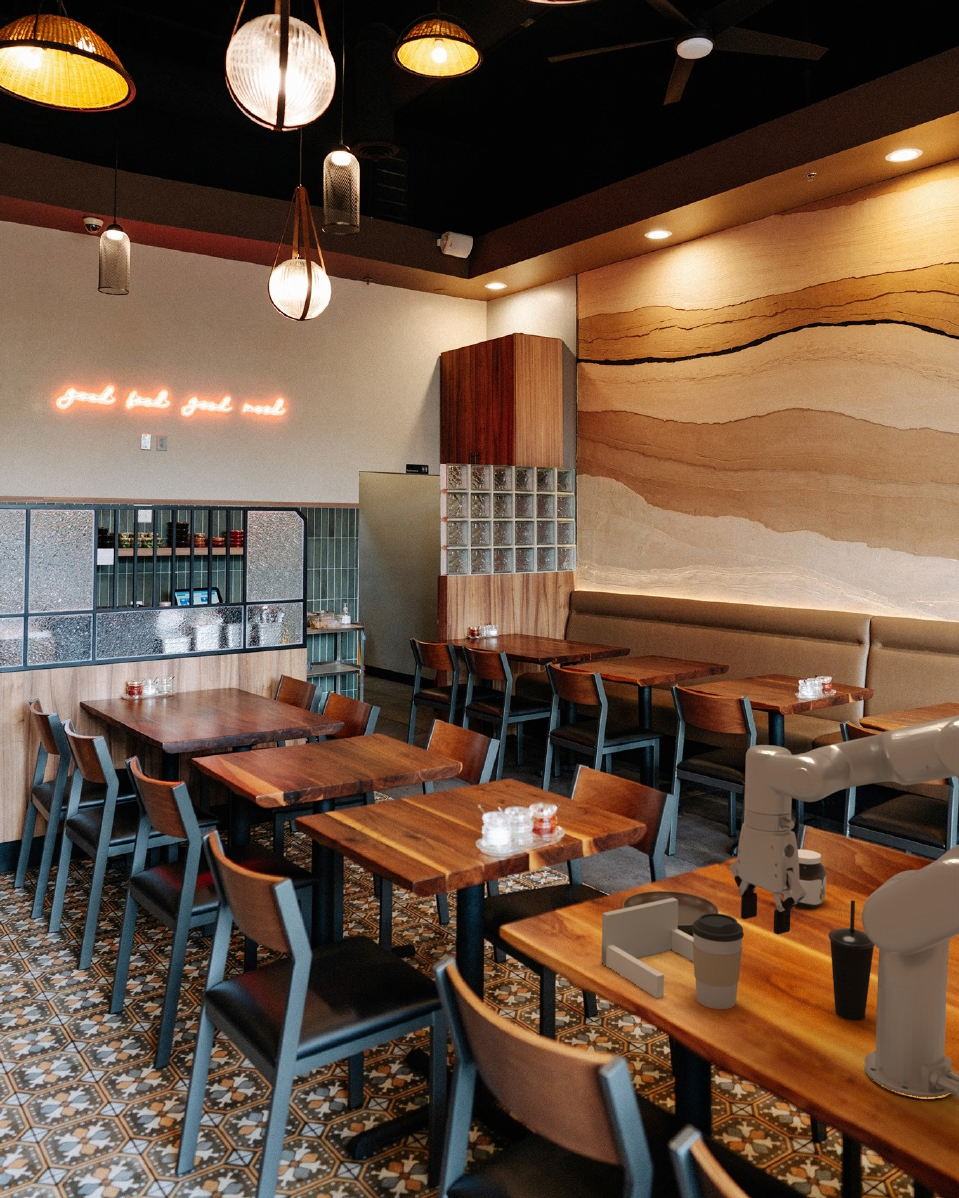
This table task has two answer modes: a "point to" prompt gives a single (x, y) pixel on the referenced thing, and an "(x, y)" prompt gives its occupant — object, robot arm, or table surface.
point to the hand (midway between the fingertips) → (765, 923)
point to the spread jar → (811, 879)
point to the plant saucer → (687, 906)
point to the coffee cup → (717, 959)
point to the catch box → (643, 941)
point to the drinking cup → (851, 969)
